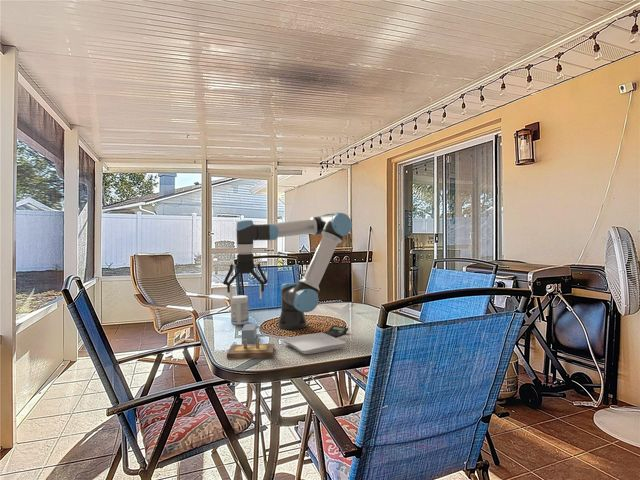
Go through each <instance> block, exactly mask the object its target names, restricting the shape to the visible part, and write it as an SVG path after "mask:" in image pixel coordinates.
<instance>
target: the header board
mask: <svg viewBox="0 0 640 480" xmlns="http://www.w3.org/2000/svg"><path fill="white" fill-rule="evenodd" d="M274 352H275V343H260V338H256V340H255V343H252V344H247V339H244V340H243V344H242V343H241V344H231V345H230V347H229V349H228V351H227V353H226V359H227V358H234V359H260V358H274Z"/></svg>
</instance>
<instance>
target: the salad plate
mask: <svg viewBox="0 0 640 480" xmlns="http://www.w3.org/2000/svg"><path fill="white" fill-rule="evenodd" d="M282 341H283V342H284V344H286V345H288V346H289V347H291V348H293V349H294V350H295V351H296V350H297V351H298V352H300V353H301V354H303V355H313V354H318V353H324V352H325V353H326V352H331V351H335V350H337V349H340V348H342V347H344V346H345V345H346V344H347V342H346V341H345V340H342V339H339V338H338V337H337V338H335V337H332V336H330V335H328V334H325V333H323V332H316V333H308V334H303V335H302V334H301V335H296V336H289V337H285V338H282Z"/></svg>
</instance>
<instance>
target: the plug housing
mask: <svg viewBox="0 0 640 480" xmlns="http://www.w3.org/2000/svg"><path fill="white" fill-rule="evenodd" d="M257 327H258V325H257V323H246V324H243V327H242V329H241V344H243V340H244V339H247V344H256V339H257V335H258V334H257V333H258V330H257Z"/></svg>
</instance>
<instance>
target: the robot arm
mask: <svg viewBox="0 0 640 480" xmlns="http://www.w3.org/2000/svg"><path fill="white" fill-rule="evenodd" d="M352 227H353V223H352V220H351V218H350V216H349V215H348V214H347V213H343V212H335V213H326V214H323V215H319V216H315V217H313V216H312V217H310V218H309V219H303V220H293V221H292V220H291V221H283V222H276V223H275V222H274V223H273V222H272V223H266V224H254V221H253V220H250V219H245V220H243V219H241V220H237V221H236V253H237V255H236V264H233V263H231V264H230V265H229V270H228V272H227V274H226V276H225V278H224V281H223V283H222V284H223V285H225V286H227V287H226V288H227V293H229V300H230V301H231V300H232V296H233V285H232V284H233V282H234V281H235V280H236V279H237V277H238V276H239V274H242V275H243V274H251V275H252V276H253V277H254V278H255V279H256V280H257V281H258V283H259V299H260V300H262V299H263V297H262V296H263V293H264V291H265V285H266V284H268V282H269V281H268V279H267V277H266V275H265V273H264V272H263V269H262V267H261V263H255V261H254V241H276V240H277V239H278V238H285V237H291V236H292V237H294V236H301V235H309V234H311V235H312V236H317V235H318V236H319V235H321V240H320V241H319V244H318V246H317V247H316V250H315V252H314V254H313V257H312V259H311V260H310V263H309V265H308V267H307V269H306V272H305V274H304V275H303V278H301V279H300V280H298V282H291V283H283V284H281V287H280V293H281V294H280V296H281V297H280V299H281V300H280V302H281V303H280V304H281V305H280V306H281V307H280V308H281V309H280V311H281V312H280V315H279V319H278V322H277V323H278V324H277V325H278V328H280V329H283V330H300V329H299V328H301V329H304V328H306V327H307V325H308V322H307V319H306V318H307V317H306V316H305V313H310V312H312V311H314V310H315V309H316V308H317V306H318V304H319V301H320V300H319V299H320V298H319V293H320V291H321V290H320V287H319V285H320V284H321V281H322V279H323V277H324V274H325V273H326V270H327V268H328V266H329V263H330V262H331V259H332V257H333V255H334V252H335V250H336V248H337V246H338V244H340V243H342V242H343V240H344V237H345V236H347V235H349V234H350V233H351V231H352ZM255 268H256V269H257V270H258V272H259V275H260V276H261V277H260V276H259V275H258V274H257V272H255V271H254V269H255ZM235 269H237V272H235V274H234V275H233V277H231V275H232V272H233V270H235ZM230 278H231V279H230ZM229 279H230V280H229ZM262 279H263V280H262ZM262 292H263V293H262Z"/></svg>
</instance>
